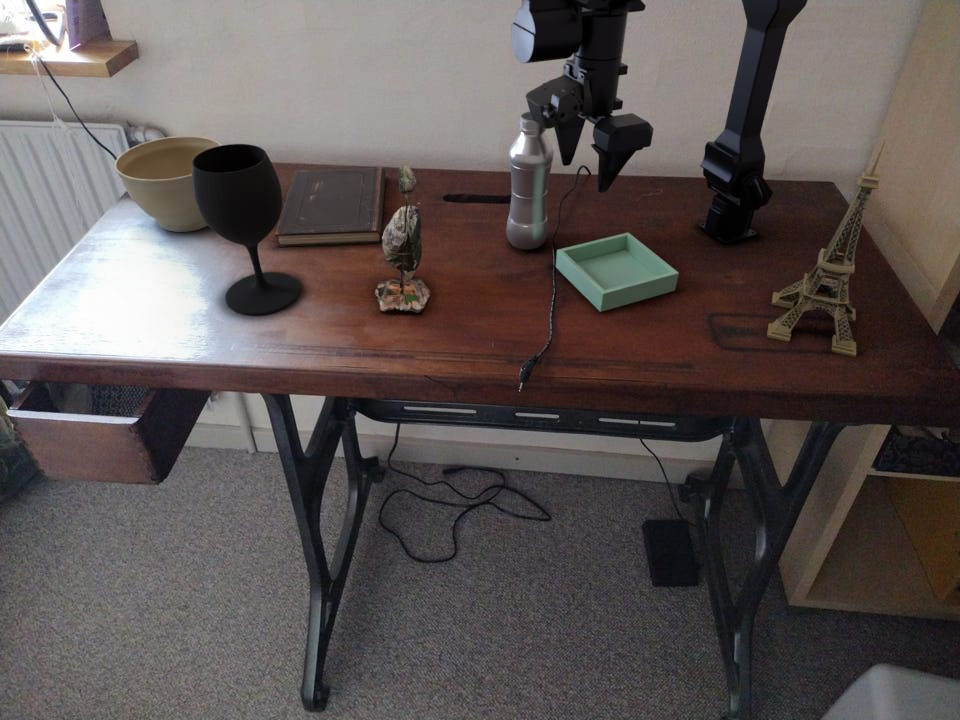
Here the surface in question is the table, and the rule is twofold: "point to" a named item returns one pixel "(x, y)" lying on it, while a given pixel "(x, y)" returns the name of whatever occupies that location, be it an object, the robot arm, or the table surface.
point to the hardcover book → (333, 207)
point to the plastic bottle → (529, 185)
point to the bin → (616, 271)
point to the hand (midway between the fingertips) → (583, 178)
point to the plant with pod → (403, 254)
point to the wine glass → (244, 219)
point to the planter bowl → (165, 179)
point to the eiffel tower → (833, 266)
